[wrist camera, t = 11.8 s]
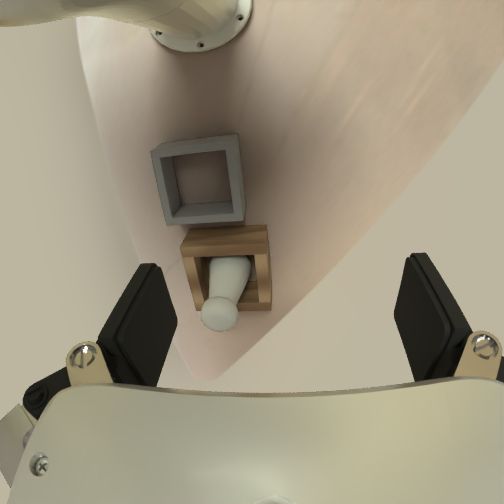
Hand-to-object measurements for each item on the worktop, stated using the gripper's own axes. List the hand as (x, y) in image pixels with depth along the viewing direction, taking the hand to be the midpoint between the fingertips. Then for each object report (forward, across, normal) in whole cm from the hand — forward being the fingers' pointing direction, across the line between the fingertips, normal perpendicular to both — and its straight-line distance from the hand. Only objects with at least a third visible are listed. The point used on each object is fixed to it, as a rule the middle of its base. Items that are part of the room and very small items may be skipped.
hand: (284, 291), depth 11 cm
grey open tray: (+28, +10, +4) cm, 30 cm away
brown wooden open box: (+28, +8, +17) cm, 34 cm away
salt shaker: (+28, +8, +17) cm, 34 cm away
